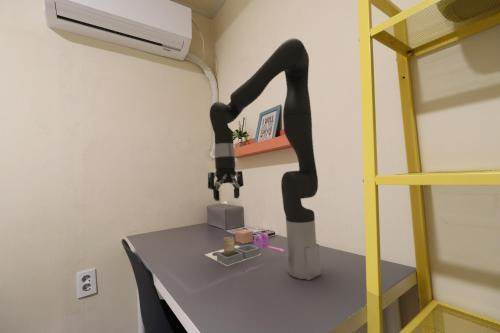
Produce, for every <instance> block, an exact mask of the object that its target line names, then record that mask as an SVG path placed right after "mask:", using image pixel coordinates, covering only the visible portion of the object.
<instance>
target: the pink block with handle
mask: <svg viewBox="0 0 500 333" xmlns="http://www.w3.org/2000/svg"><path fill="white" fill-rule="evenodd" d="M253 246H255V247H258V248H260V250H262V249H264V247H266V248H270V249H273V250H277V251H279V252H283V253H285V249H284V248H280V247H275V246H271V245H270V238H269V234H268V233H267V232H262V233H260V234H256V235H253Z"/></svg>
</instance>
